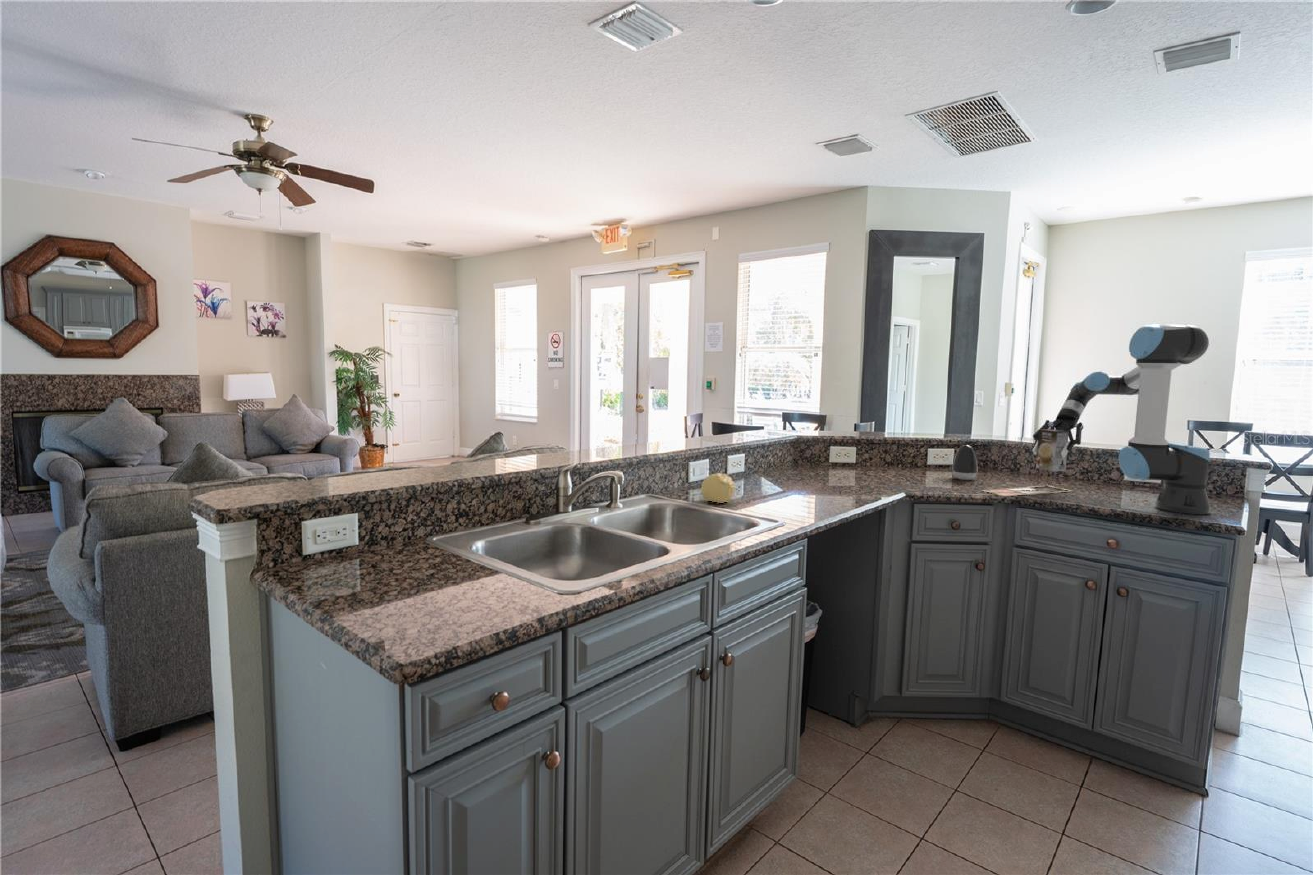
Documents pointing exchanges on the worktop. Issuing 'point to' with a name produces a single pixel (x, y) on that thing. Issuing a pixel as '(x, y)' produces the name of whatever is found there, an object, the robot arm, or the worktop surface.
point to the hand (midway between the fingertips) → (1048, 454)
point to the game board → (1018, 491)
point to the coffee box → (1051, 449)
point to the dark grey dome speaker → (965, 463)
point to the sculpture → (718, 488)
